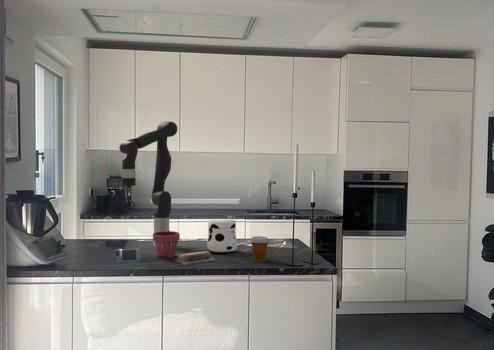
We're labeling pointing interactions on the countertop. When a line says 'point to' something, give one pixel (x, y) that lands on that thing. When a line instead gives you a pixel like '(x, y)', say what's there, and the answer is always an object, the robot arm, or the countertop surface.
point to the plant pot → (166, 243)
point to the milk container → (221, 236)
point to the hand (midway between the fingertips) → (128, 207)
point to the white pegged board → (138, 258)
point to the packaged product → (194, 258)
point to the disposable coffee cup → (259, 248)
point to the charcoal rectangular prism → (126, 254)
